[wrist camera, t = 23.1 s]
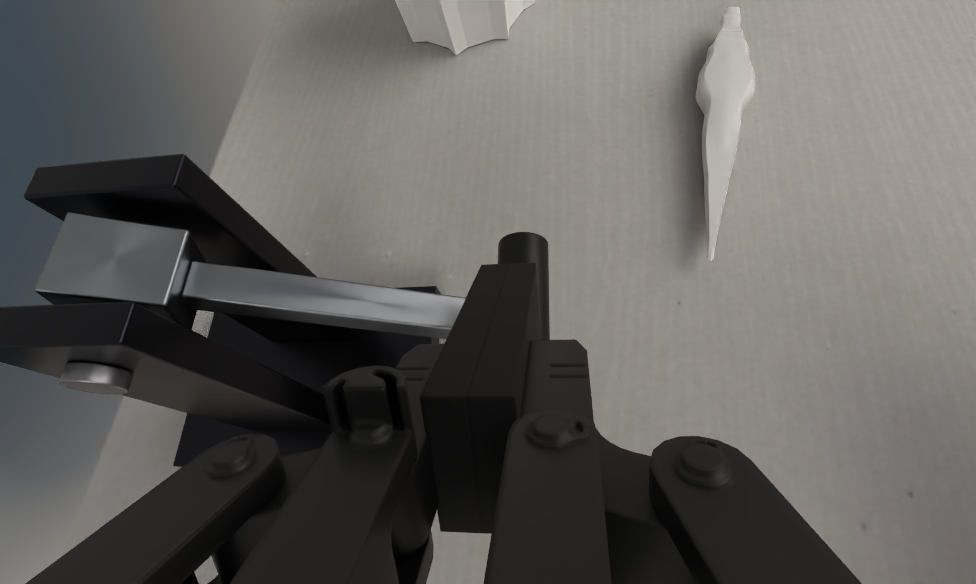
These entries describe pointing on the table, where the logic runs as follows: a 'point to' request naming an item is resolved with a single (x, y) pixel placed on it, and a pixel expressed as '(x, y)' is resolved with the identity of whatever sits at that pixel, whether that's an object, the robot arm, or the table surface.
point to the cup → (460, 20)
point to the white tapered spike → (722, 114)
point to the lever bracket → (174, 348)
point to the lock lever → (245, 281)
